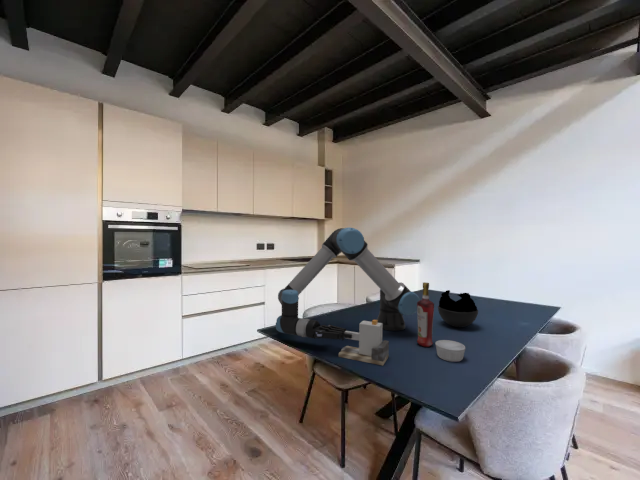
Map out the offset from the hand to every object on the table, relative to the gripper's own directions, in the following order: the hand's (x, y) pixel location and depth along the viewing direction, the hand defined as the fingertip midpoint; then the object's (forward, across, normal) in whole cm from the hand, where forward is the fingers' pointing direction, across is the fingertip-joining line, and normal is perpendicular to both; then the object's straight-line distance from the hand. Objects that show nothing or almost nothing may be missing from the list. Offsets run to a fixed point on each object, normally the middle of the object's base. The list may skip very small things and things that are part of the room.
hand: (360, 336), depth 121 cm
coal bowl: (+34, -65, -8) cm, 74 cm away
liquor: (+22, -26, -8) cm, 35 cm away
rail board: (+1, 0, -8) cm, 8 cm away
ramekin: (+33, -16, -8) cm, 37 cm away
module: (+4, 0, -6) cm, 7 cm away
